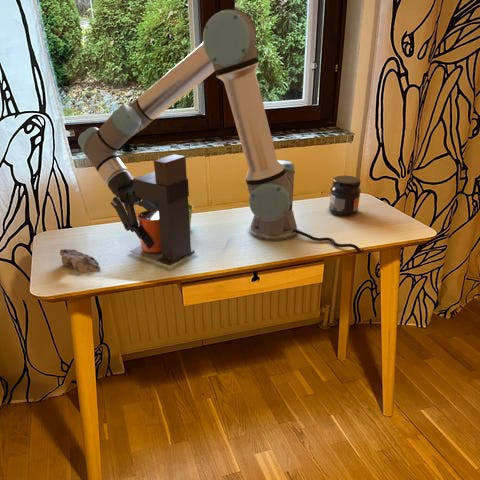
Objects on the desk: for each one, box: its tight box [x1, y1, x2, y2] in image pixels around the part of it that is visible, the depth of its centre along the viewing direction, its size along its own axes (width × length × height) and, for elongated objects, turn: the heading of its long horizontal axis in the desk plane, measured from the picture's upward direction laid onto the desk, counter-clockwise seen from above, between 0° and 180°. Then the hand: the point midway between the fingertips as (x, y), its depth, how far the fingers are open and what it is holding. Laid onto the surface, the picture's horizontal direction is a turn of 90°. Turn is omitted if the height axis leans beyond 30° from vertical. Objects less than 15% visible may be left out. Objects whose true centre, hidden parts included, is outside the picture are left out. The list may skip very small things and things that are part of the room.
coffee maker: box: [128, 153, 195, 267], centre depth 144 cm, size 16×11×30 cm, turn 54°
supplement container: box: [328, 175, 362, 217], centre depth 180 cm, size 10×10×12 cm
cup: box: [136, 210, 162, 252], centre depth 149 cm, size 8×8×10 cm
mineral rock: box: [59, 248, 101, 274], centre depth 144 cm, size 15×8×4 cm, turn 36°
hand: (162, 241), depth 149 cm, fingers closed on cup, 8 cm apart
